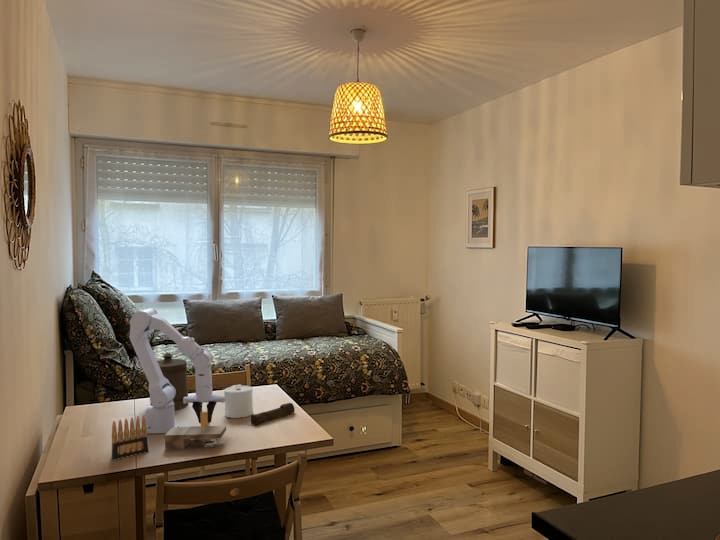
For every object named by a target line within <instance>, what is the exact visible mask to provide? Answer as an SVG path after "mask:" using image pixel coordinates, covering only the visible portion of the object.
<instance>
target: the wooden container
mask: <svg viewBox="0 0 720 540" xmlns="http://www.w3.org/2000/svg"><path fill="white" fill-rule="evenodd" d="M157 362H158V364H159V367H160V369H161V371H162V374H163V376H164V377H165V378H166V379H168V380H169V383H170V384H171V385H172V386H173V387H174V388H175V390H176V395H175V397H174V398H173V402H174V411H175V410H176V411H177V410H181V409H183V408H185V407H187V406H188V405H189V403H186V404H184V403H183V398H184V397H189V385H188V374H187V373H188V371H187V369H188V368H187V365H188V362H187V360H185V359H182V358H181V359H180V358H173V354H172V353H171V352H167V353H165V354H163V359H159V360H157ZM149 403H150V404H149V406H153V405H152V404H151V402H150V401H149Z"/></svg>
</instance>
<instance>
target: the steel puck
mask: <svg viewBox="0 0 720 540" xmlns="http://www.w3.org/2000/svg"><path fill="white" fill-rule="evenodd" d="M214 445H216V446H217V439H204V441H203V447H204V446H206V447H205V448H212V447H211V446H213V447H215V446H214Z"/></svg>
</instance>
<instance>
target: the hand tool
mask: <svg viewBox="0 0 720 540" xmlns="http://www.w3.org/2000/svg"><path fill="white" fill-rule="evenodd" d="M295 411H296V410H295V406H294V404H293V403H292V402H287V403H284V404H281V405H280V406H279V407H278V408H277V407H276V408H274V409H271V410H267V411H262V412H259V413H256V414H252V415H250V423H251V424H252V425H253V424H254V426H257V425H260V424H261V423H264V422H267V421H270V420H273V419H277V418H280V417H283V418H286V417H289V416H291V415H293V414H294V413H295ZM288 415H289V416H288Z"/></svg>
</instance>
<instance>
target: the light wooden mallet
mask: <svg viewBox="0 0 720 540" xmlns="http://www.w3.org/2000/svg"><path fill="white" fill-rule="evenodd" d="M200 420H201V423H200V426H211V422H210V423H208V412H207V409H206V410H205V409H202V411H201V412H200ZM193 440H194V441H198V440H200V439H193Z"/></svg>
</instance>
